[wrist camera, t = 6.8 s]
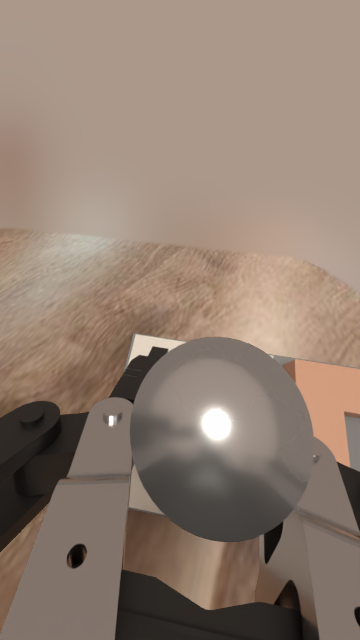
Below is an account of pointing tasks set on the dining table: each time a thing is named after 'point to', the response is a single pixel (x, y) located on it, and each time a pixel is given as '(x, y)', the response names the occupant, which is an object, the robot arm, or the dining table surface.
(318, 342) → the dining table surface
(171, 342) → the dock board
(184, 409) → the steel pin
